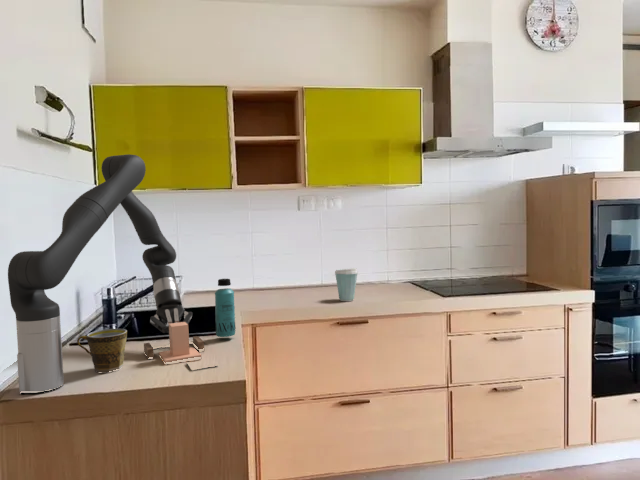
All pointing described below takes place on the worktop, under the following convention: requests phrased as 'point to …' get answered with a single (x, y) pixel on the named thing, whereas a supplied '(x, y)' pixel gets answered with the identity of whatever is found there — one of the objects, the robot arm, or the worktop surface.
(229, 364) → the worktop surface
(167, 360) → the footed block
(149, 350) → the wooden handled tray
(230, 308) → the beverage bottle
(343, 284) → the disposable coffee cup
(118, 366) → the ceramic cup
